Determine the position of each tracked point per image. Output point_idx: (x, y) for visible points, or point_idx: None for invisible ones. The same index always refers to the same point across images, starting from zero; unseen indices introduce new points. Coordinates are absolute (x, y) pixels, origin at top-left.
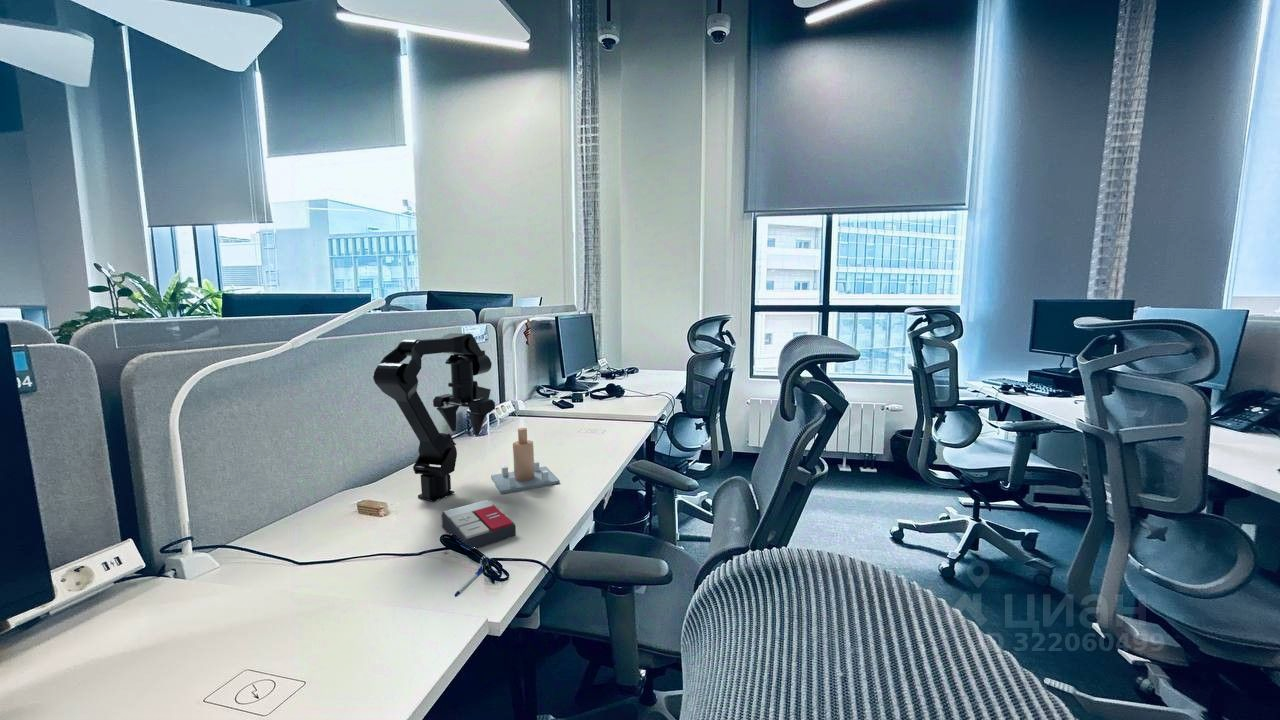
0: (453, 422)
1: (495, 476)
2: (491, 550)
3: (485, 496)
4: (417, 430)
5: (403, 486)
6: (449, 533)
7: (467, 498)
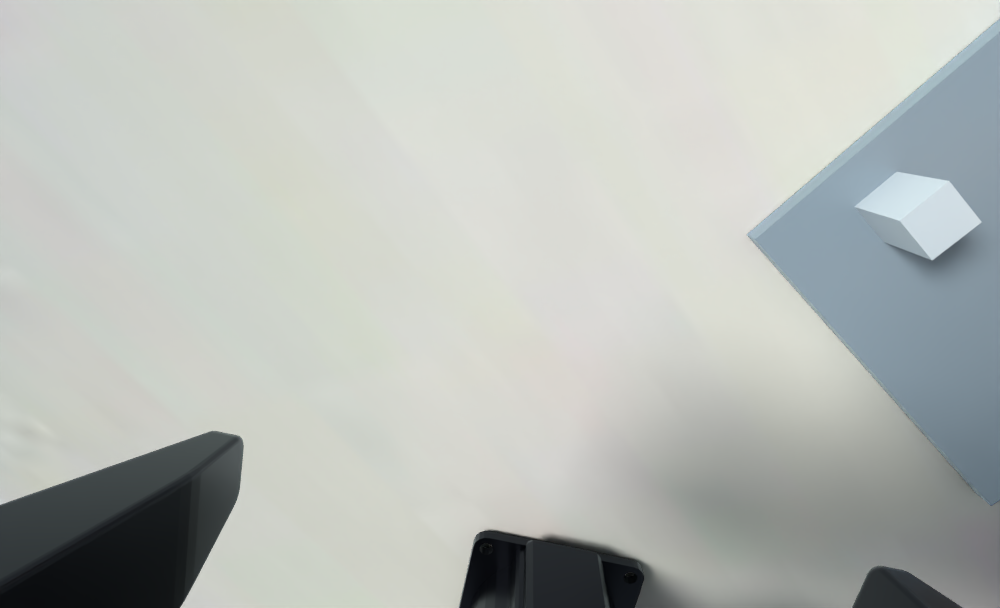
0: (118, 597)
1: (811, 255)
2: None
3: (880, 547)
4: None
5: None
6: None
7: (772, 597)
